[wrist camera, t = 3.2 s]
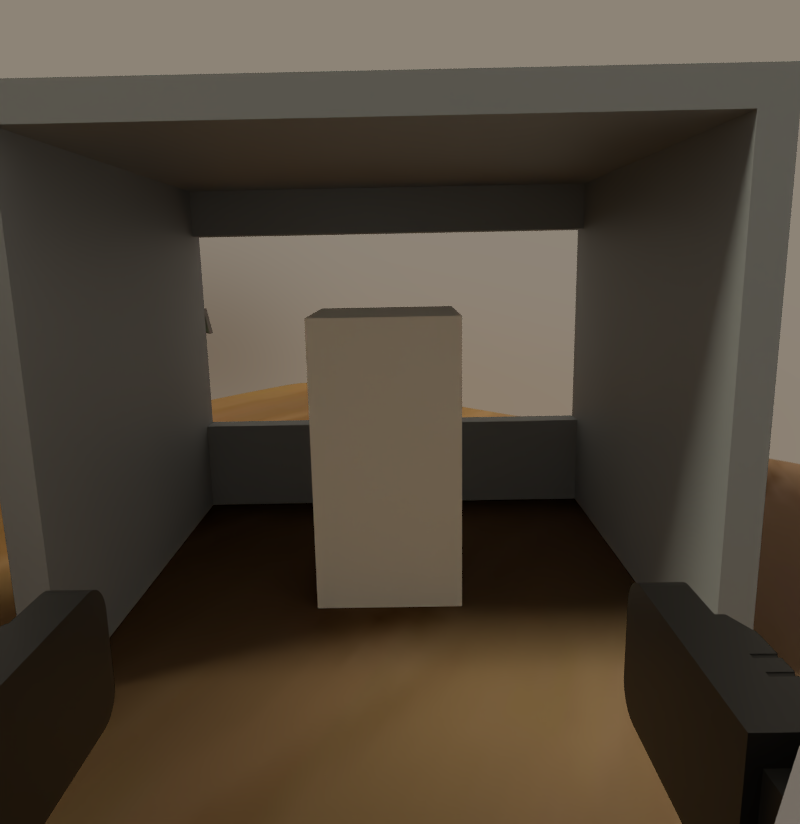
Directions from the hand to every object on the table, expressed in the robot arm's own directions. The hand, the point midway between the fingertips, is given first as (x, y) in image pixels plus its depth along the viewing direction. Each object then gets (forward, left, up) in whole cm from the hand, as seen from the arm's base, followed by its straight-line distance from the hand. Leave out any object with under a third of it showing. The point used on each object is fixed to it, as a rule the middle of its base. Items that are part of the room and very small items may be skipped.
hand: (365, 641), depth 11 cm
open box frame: (0, +16, -6) cm, 17 cm away
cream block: (0, +15, -6) cm, 17 cm away
